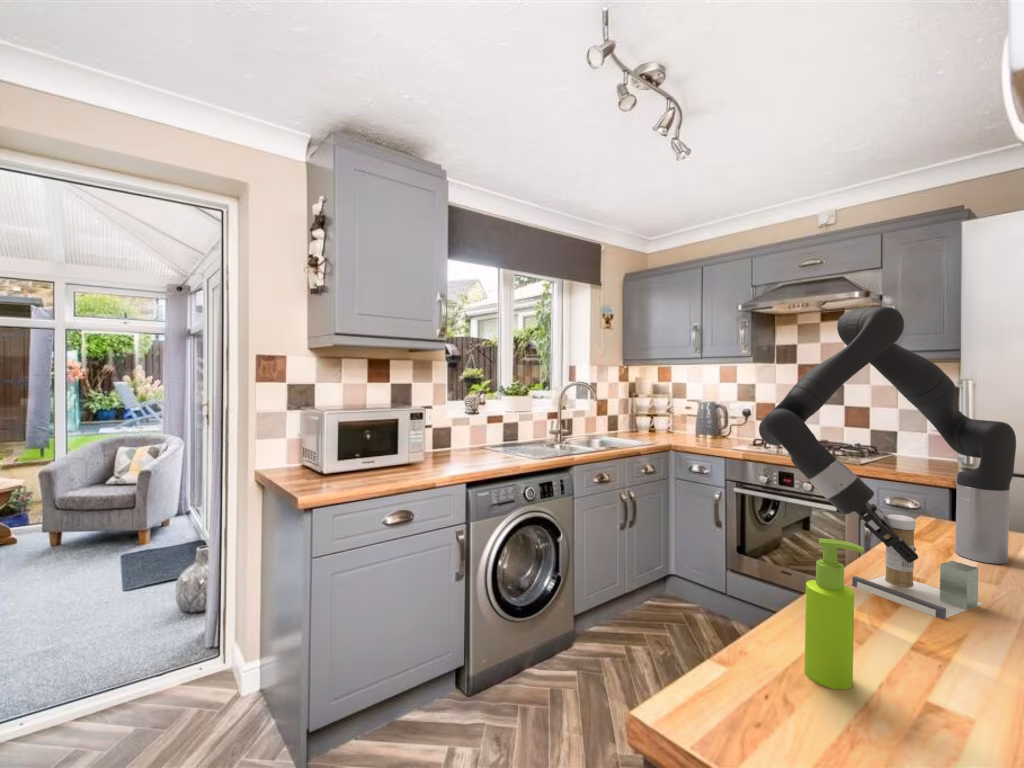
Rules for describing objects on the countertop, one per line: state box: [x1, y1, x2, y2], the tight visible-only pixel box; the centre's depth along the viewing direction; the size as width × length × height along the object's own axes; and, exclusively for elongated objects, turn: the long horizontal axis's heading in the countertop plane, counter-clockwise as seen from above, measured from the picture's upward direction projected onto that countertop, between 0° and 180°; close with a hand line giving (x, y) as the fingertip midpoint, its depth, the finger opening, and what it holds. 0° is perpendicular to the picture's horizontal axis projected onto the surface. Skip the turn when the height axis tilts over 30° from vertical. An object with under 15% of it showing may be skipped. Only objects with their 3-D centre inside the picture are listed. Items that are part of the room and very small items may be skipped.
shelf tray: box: [851, 575, 984, 620], centre depth 95 cm, size 14×15×3 cm
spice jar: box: [885, 514, 916, 588], centre depth 97 cm, size 5×5×14 cm
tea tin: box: [939, 560, 980, 611], centre depth 91 cm, size 4×4×7 cm
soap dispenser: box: [804, 537, 865, 691], centre depth 71 cm, size 6×7×20 cm
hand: (912, 555), depth 96 cm, fingers closed on spice jar, 4 cm apart
